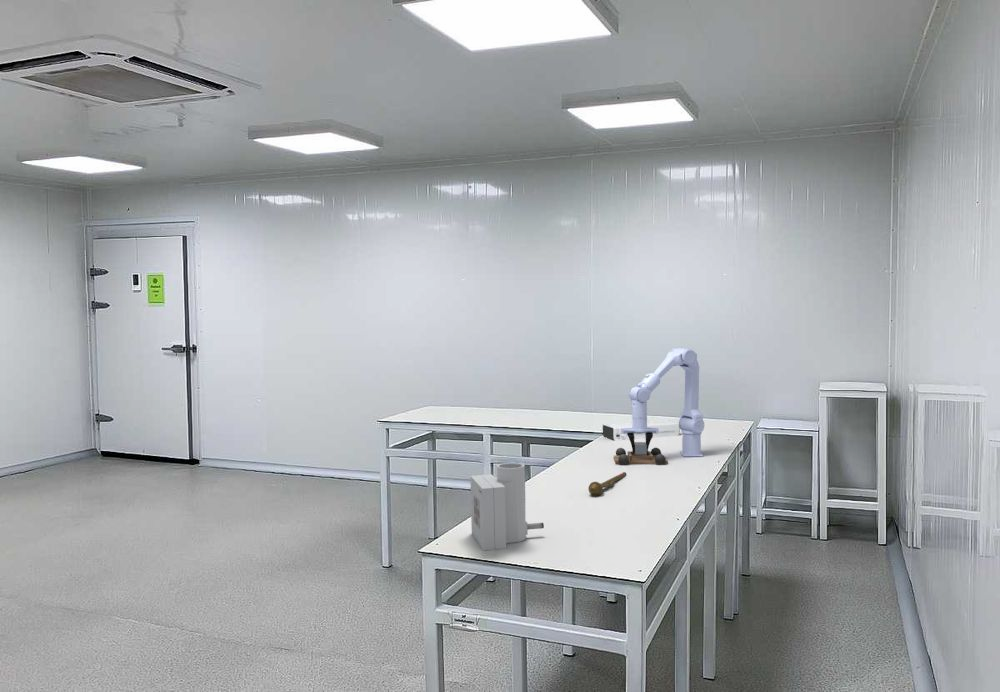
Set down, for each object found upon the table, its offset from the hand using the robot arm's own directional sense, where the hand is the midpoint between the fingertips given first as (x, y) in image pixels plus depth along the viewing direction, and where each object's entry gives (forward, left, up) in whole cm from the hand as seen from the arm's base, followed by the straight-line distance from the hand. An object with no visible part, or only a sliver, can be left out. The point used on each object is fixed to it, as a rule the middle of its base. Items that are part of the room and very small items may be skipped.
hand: (640, 451), depth 322 cm
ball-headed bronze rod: (+42, -15, -4) cm, 45 cm away
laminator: (-59, +7, -4) cm, 59 cm away
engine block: (0, 0, -2) cm, 2 cm away
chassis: (0, 0, -4) cm, 4 cm away
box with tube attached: (+105, -45, -4) cm, 114 cm away
